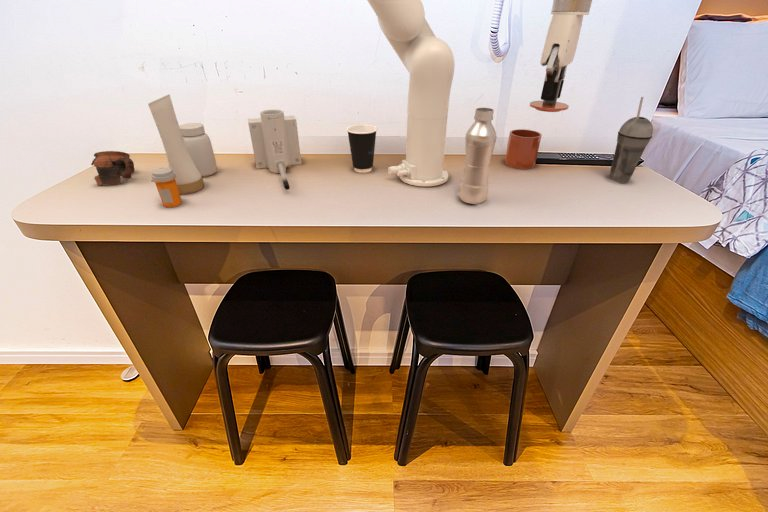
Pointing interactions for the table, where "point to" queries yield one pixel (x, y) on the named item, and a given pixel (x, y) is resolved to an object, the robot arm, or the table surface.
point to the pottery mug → (112, 167)
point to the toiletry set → (180, 154)
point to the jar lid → (550, 104)
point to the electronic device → (275, 142)
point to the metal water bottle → (478, 157)
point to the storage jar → (522, 148)
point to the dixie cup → (362, 146)
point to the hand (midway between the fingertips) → (550, 98)
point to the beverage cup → (630, 147)
